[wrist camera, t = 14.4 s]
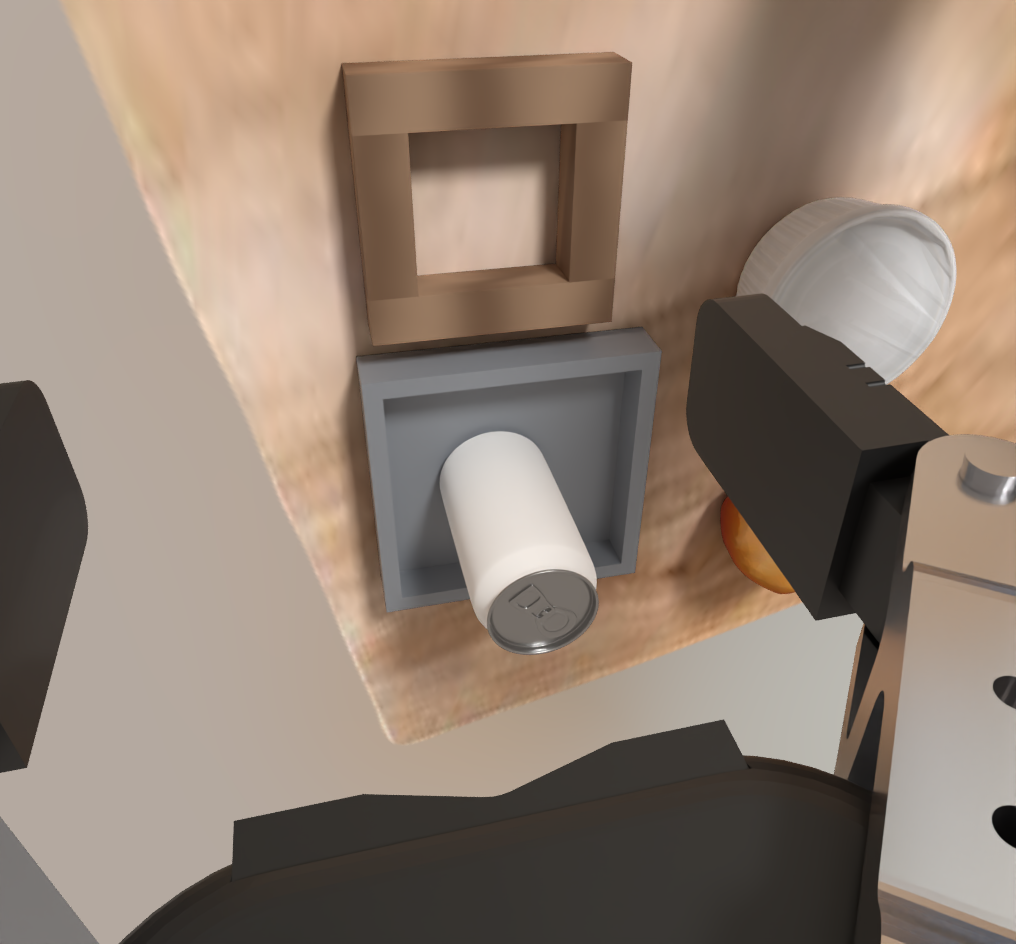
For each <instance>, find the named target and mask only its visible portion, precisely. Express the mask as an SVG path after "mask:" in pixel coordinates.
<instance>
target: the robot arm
mask: <svg viewBox="0 0 1016 944" xmlns="http://www.w3.org/2000/svg"><path fill="white" fill-rule="evenodd" d="M686 415H687V425H688V431H689V435H690V438H691V441H692V444H693V446H694V448H695V450H696V452H697V453H698V455H699V456H700V457H701V459H702V460H703V462H704V463H705V465H706V466H707V467H708V469H709V470H710V472H711V473H712V474H713V476H714V477H715V479H716V480H717V482H718V483H719V484H720V486H721V487H722V489H723V490H724V491H725V493H726V494H727V496H728V497H729V499H730V500H731V501H732V503H733V504H734V506H735V507H736V508H737V510H738V511H739V513H740V514H741V516H742V517H743V518H744V520H745V521H746V523H747V524H748V525H749V527H750V528H751V530H752V531H753V533H754V534H755V535H756V537H757V538H758V540H759V541H760V542H761V544H762V545H763V547H764V548H765V550H766V551H767V552H768V554H769V555H770V557H771V558H772V559H773V561H774V562H775V564H776V565H777V567H778V568H779V569H780V571H781V572H782V574H783V575H784V576H785V578H786V579H787V581H788V582H789V584H790V585H791V586H792V588H793V589H794V591H795V592H796V593H797V595H798V596H799V598H800V599H801V601H802V602H803V603H804V605H805V606H806V608H807V609H808V610H809V612H810V613H811V615H812V616H813V618H814V619H815V620H822V619H826V618H832V617H837V616H842V615H847V614H853V613H857V615H858V616H859V617H860V618H861V620H862V621H863V623H864V624H863V627H862V630H861V633H860V636H859V639H858V643H857V646H856V652H855V657H854V663H853V669H852V675H851V681H850V686H849V692H848V698H847V703H846V709H845V715H844V721H843V727H842V732H841V738H840V744H839V750H838V755H837V761H836V766H835V770H834V775H833V774H830V773H827V772H824V771H821V770H819V769H816V768H813V767H809V766H805V765H801V764H797V763H793V762H788V761H785V760H779V759H772V758H765V757H758V756H743V755H742V753H741V751H740V750H739V748H738V746H737V744H736V742H735V740H734V738H733V736H732V734H731V732H730V730H729V729H728V727H727V725H726V723H725V721H724V720H719V721H715V722H710V723H705V724H700V725H695V726H690V727H686V728H681V729H676V730H671V731H666V732H661V733H657V734H652V735H647V736H642V737H637V738H632V739H628V740H623V741H618V742H613V743H610V744H608V745H606V746H604V747H602V748H600V749H598V750H596V751H594V752H592V753H590V754H588V755H586V756H583V757H581V758H580V759H577V760H575V761H573V762H571V763H569V764H567V765H565V766H563V767H561V768H558V769H556V770H554V771H552V772H550V773H548V774H546V775H544V776H542V777H540V778H538V779H536V780H533V781H531V782H529V783H527V784H525V785H523V786H521V787H519V788H517V789H515V790H513V791H511V792H508V793H505V794H503V795H499V796H494V797H453V796H412V795H372V794H371V795H369V794H362V795H357V796H353V797H348V798H343V799H339V800H333V801H328V802H324V803H319V804H314V805H309V806H304V807H299V808H295V809H290V810H285V811H280V812H275V813H270V814H266V815H261V816H256V817H251V818H247V819H242V820H237V821H234V834H233V861H232V864H231V865H229V866H227V867H225V868H222V869H220V870H218V871H216V872H214V873H212V874H210V875H209V876H207V877H205V878H204V879H202V880H200V881H199V882H197V883H195V884H194V885H192V886H190V887H189V888H187V889H185V890H184V891H182V892H181V893H179V894H178V895H176V896H175V897H174V898H172V899H171V900H170V901H168V902H167V903H166V904H164V905H163V906H162V907H161V908H159V909H157V910H156V911H155V912H153V913H152V914H151V915H150V916H149V917H148V918H146V919H145V920H144V921H143V922H142V923H141V924H140V925H139V926H137V927H136V928H135V929H134V930H133V931H132V932H131V933H130V934H128V935H127V936H126V937H125V938H124V939H123V940H122V941H121V942H120V943H119V944H1016V443H1012V442H1009V441H1006V440H1002V439H998V438H994V437H988V436H982V435H970V434H961V435H948V434H947V433H946V432H945V431H944V430H942V429H941V428H940V427H939V426H938V425H937V424H936V423H934V422H933V421H932V420H931V419H930V418H929V417H927V416H926V415H925V414H924V413H923V412H922V411H921V410H919V409H918V408H917V407H916V406H915V405H914V404H912V403H911V402H910V401H909V400H908V399H907V398H906V397H904V396H903V395H902V394H901V393H900V392H899V391H897V390H896V389H895V388H894V387H893V386H892V385H890V384H889V385H886V384H885V379H884V378H882V377H881V376H880V375H879V374H878V373H877V372H875V371H874V370H873V369H872V368H871V367H865V362H864V361H863V360H862V359H860V358H859V357H858V356H857V355H856V354H855V353H853V352H852V351H851V350H850V349H849V348H848V347H847V346H845V345H844V344H843V343H842V342H841V341H838V340H836V339H834V338H832V337H830V336H827V335H825V334H823V333H821V332H819V331H816V330H814V329H812V328H810V327H808V326H806V325H804V326H801V325H800V324H799V323H798V322H797V321H796V320H795V319H794V318H793V317H791V316H790V315H789V314H788V313H787V312H786V311H785V310H784V309H783V308H781V307H780V306H779V305H778V304H777V303H776V302H775V301H774V300H773V299H771V298H770V297H769V296H768V295H766V294H763V293H760V294H751V295H743V296H735V297H726V298H718V299H710V300H707V301H705V302H704V303H703V304H702V306H701V308H700V310H699V313H698V317H697V322H696V331H695V339H694V347H693V356H692V364H691V372H690V381H689V389H688V397H687V407H686ZM87 535H88V519H87V510H86V505H85V500H84V497H83V493H82V490H81V487H80V485H79V482H78V480H77V477H76V475H75V472H74V469H73V467H72V464H71V462H70V459H69V457H68V454H67V452H66V449H65V447H64V445H63V442H62V439H61V437H60V434H59V432H58V429H57V427H56V425H55V422H54V419H53V417H52V414H51V412H50V409H49V407H48V404H47V402H46V399H45V397H44V395H43V393H42V392H41V390H40V389H39V387H38V386H37V385H36V384H35V383H34V382H32V381H30V380H27V381H18V382H10V383H2V384H0V773H1V772H7V771H12V770H18V769H22V768H27V765H28V762H29V758H30V754H31V750H32V746H33V743H34V739H35V735H36V731H37V727H38V723H39V719H40V716H41V712H42V708H43V705H44V701H45V697H46V693H47V690H48V686H49V682H50V678H51V675H52V671H53V667H54V663H55V659H56V656H57V652H58V648H59V644H60V640H61V637H62V633H63V629H64V626H65V622H66V618H67V614H68V610H69V606H70V603H71V599H72V595H73V591H74V588H75V583H76V580H77V576H78V573H79V569H80V565H81V561H82V557H83V554H84V550H85V546H86V541H87ZM0 944H99V943H98V942H97V940H96V939H95V938H94V937H93V935H92V934H91V933H90V931H89V930H88V929H87V928H86V926H85V925H84V924H83V922H82V921H81V920H80V919H79V917H78V916H77V915H76V913H75V912H74V911H73V910H72V908H71V907H70V906H69V904H68V903H67V902H66V901H65V899H64V898H63V897H62V895H61V894H60V893H59V892H58V891H57V889H56V888H55V886H54V885H53V884H52V883H51V881H50V880H49V879H48V877H47V876H46V875H45V874H44V872H43V871H42V870H41V868H40V867H39V866H38V865H37V863H36V862H35V861H34V859H33V858H32V857H31V856H30V854H29V853H28V852H27V850H26V849H25V848H24V847H23V845H22V844H21V843H20V841H19V840H18V839H17V837H16V836H15V835H14V834H13V832H12V831H11V830H10V828H9V827H8V826H7V825H6V823H5V822H4V821H3V819H1V817H0Z"/></svg>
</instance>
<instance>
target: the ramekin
mask: <svg viewBox="0 0 1016 944" xmlns="http://www.w3.org/2000/svg"><path fill="white" fill-rule="evenodd" d="M955 284H956V259H955V255H954V250H953V247H952V244H951V242H950V240H949V238H948V236H947V235H946V233H945V232H944V230H943V229H942V228H941V227H940V226H939V225H938V224H937V223H936V222H935V221H933V220H932V219H931V218H929V217H928V216H926V215H924V214H923V213H921V212H919V211H917V210H915V209H912V208H909V207H905V206H900V205H892V204H878V203H874V202H870V201H866V200H861V199H856V198H844V197H837V198H827V199H823V200H817V201H814V202H812V203H809V204H805V205H804V206H802V207H800V208H798V209H796V210H794V211H793V212H791V213H790V214H788V215H787V216H785V217H784V218H783V219H782V220H780V221H779V222H778V223H776V224H775V225H774V226H773V227H772V228H771V229H770V230H769V231H768V232H767V233H766V234H765V235H764V236H763V237H762V239H761V240H760V241H759V242H758V244H757V245H756V246H755V248H754V249H753V251H752V252H751V254H750V256H749V258H748V260H747V261H746V263H745V266H744V269H743V271H742V273H741V276H740V280H739V283H738V287H737V294H736V296H743V295H751V294H760V293H763V294H766V295H768V296H769V297H770V298H771V299H773V300H774V301H775V302H776V303H777V304H778V305H779V306H780V307H781V308H783V309H784V310H785V311H786V312H787V313H788V314H789V315H790V316H791V317H793V318H794V319H795V320H796V321H797V322H798V323H799V324H800V325H801V326H804V325H806V326H808V327H810V328H812V329H814V330H816V331H819V332H821V333H823V334H825V335H827V336H830V337H832V338H834V339H836V340H838V341H841V342H842V343H843V344H844V345H845V346H847V347H848V348H849V349H850V350H851V351H852V352H853V353H855V354H856V355H857V356H858V357H859V358H860V359H862V360H863V361H864V362H865V367H871V368H872V369H873V370H874V371H875V372H877V373H878V374H879V375H880V376H881V377H882V378H884V379H885V384H886V385H887V384H888V383H890V382H891V381H893V380H894V379H896V378H897V377H898V376H899V375H900V374H902V373H903V372H904V371H905V370H906V369H908V368H909V367H910V366H911V365H912V364H913V363H914V362H915V361H916V360H917V358H918V357H919V356H920V355H921V354H922V353H923V352H924V351H925V349H926V348H927V347H928V346H929V344H930V343H931V342H932V341H933V339H934V338H935V336H936V334H937V333H938V331H939V329H940V328H941V326H942V324H943V322H944V320H945V318H946V315H947V313H948V310H949V308H950V305H951V302H952V298H953V294H954V289H955Z"/></svg>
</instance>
